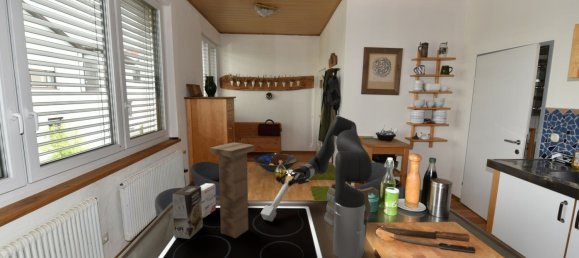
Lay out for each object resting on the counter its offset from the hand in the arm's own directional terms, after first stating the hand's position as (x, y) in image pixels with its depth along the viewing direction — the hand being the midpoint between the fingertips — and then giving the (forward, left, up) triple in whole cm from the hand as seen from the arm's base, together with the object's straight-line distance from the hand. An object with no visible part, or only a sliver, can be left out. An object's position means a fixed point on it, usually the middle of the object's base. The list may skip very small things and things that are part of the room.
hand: (285, 182), depth 116 cm
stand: (+6, +26, -12) cm, 29 cm away
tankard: (-28, -4, -12) cm, 31 cm away
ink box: (+27, +21, -12) cm, 36 cm away
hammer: (0, +5, -6) cm, 8 cm away
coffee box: (+20, +35, -12) cm, 42 cm away
